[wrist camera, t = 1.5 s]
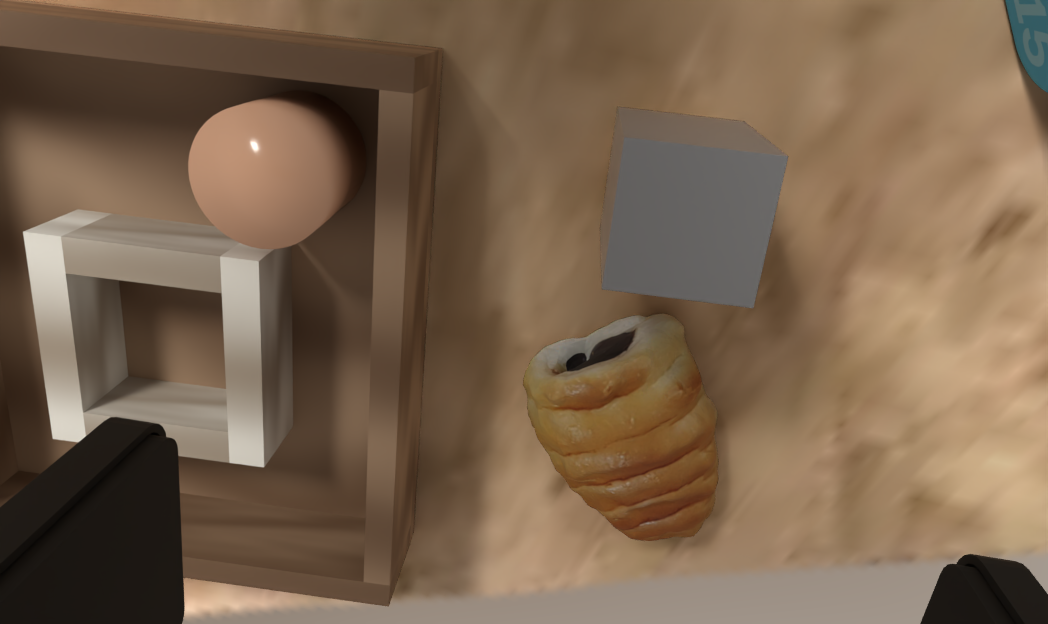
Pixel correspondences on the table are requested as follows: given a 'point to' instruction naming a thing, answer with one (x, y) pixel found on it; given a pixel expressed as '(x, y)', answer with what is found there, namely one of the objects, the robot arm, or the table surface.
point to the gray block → (688, 207)
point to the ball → (276, 167)
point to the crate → (218, 289)
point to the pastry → (629, 425)
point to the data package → (1031, 37)
